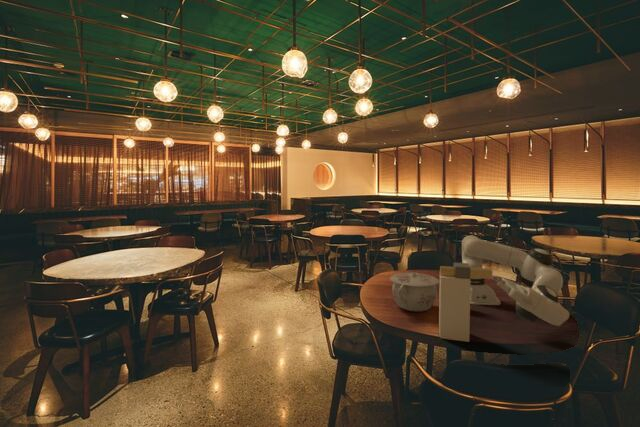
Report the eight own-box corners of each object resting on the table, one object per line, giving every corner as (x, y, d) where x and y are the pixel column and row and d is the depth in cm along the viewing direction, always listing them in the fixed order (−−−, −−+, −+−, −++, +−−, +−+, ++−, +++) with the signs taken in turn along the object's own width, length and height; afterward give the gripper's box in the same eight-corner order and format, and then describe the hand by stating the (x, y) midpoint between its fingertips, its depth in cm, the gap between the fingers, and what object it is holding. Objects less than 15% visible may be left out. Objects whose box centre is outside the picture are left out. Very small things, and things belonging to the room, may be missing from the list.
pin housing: (466, 332, 144) (467, 262, 142) (469, 341, 135) (470, 267, 133) (439, 328, 148) (439, 261, 146) (440, 338, 138) (440, 266, 136)
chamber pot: (423, 298, 192) (424, 265, 191) (449, 314, 165) (450, 277, 164) (381, 301, 187) (381, 267, 186) (400, 319, 160) (401, 280, 159)
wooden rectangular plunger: (490, 276, 137) (490, 268, 136) (492, 279, 133) (492, 271, 133) (440, 273, 143) (440, 265, 143) (440, 275, 140) (440, 267, 139)
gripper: (530, 313, 121) (496, 293, 125) (515, 296, 141) (486, 279, 144) (539, 300, 120) (505, 280, 123) (523, 285, 139) (494, 268, 143)
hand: (495, 280), depth 134 cm, fingers open, 8 cm apart
